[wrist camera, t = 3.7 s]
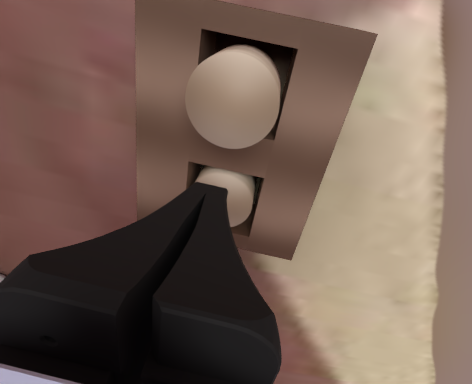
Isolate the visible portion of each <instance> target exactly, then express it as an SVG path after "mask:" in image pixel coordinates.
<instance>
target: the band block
mask: <svg viewBox="0 0 472 384" xmlns="http://www.w3.org/2000/svg"><path fill="white" fill-rule="evenodd" d="M217 32H220V33H225V34H230V35H234V36H239V37H244V38H249V39H254V40H258V41H263V42H268V43H273V44H277V45H282V46H287V47H292V48H294V50H293V54H292V58H291V62H290V66H289V70H288V74H287V78H286V82H285V86H284V90H283V94H282V97H281V101H280V106H279V113H278V117H277V120H276V122H275V124H274V126H273V128H272V129H271V131H270V132H269V133H268V134H267V136H265V137H264V138H263V139H262V140H261V141H259V142H258V143H256V144H254V145H252V146H249V147H246V148H241V149H228V148H223V147H220V146H217V145H215V144H213V143H211V142H209V141H208V140H206V139H205V138H203V137H202V136H201V135H200V134H199V133H198V131H197V130H196V129H195V128H194V126H193V125H192V123H191V121H190V119H189V116H188V114H187V110H186V104H185V93H186V87H187V84H188V81H189V78H190V76H191V75H192V73H193V71H194V70H195V69H196V68H197V66H198V65H199V64H200V63H202V62H203V61H204V60H206V59H207V58H209V57H210V56H212V55H214V54H215V45H216V37H217ZM377 35H378V34H375V33H371V32H367V31H362V30H358V29H353V28H348V27H343V26H338V25H333V24H329V23H324V22H319V21H314V20H309V19H304V18H299V17H295V16H290V15H285V14H280V13H275V12H270V11H266V10H261V9H256V8H251V7H246V6H241V5H236V4H232V3H227V2H222V1H217V0H135V48H136V162H137V221H139V220H140V219H142V218H144V217H146V216H148V215H149V214H151V213H153V212H154V211H156V210H158V209H159V208H161V207H162V206H164V205H165V204H167V203H168V202H170V201H171V200H173V199H174V198H175V197H177V196H178V195H179V194H181V193H182V192H183V191H185V190H186V189H187V188H188V187H190V186H191V185H192V184H194V183H195V181H196V179H197V177H198V175H199V174H200V168H201V164H203V165H207V166H212V167H216V168H220V169H225V170H229V171H234V172H238V173H243V174H247V175H252V176H256V177H261V181H260V184H259V188H258V192H257V196H256V200H255V204H252V210H251V213H250V214H249V216H248V218H247V219H246V220H245V221H244V222H242V223H241V224H239V225H237V226H234V227H231V231H232V235H233V238H234V241H235V244H236V247H237V248H240V249H244V250H248V251H253V252H257V253H261V254H266V255H270V256H274V257H279V258H283V259H287V260H292V257H293V254H294V252H295V249H296V247H297V244H298V241H299V239H300V236H301V233H302V231H303V228H304V226H305V223H306V220H307V218H308V215H309V213H310V210H311V207H312V205H313V202H314V199H315V197H316V194H317V192H318V189H319V186H320V184H321V181H322V179H323V176H324V173H325V171H326V168H327V165H328V163H329V160H330V158H331V155H332V152H333V150H334V147H335V145H336V142H337V139H338V137H339V134H340V132H341V129H342V126H343V124H344V121H345V118H346V116H347V113H348V111H349V108H350V105H351V103H352V100H353V98H354V95H355V92H356V90H357V87H358V84H359V82H360V79H361V77H362V74H363V71H364V69H365V66H366V64H367V61H368V58H369V56H370V53H371V50H372V48H373V45H374V43H375V40H376V37H377Z"/></svg>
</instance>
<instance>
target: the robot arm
mask: <svg viewBox="0 0 472 384" xmlns="http://www.w3.org/2000/svg"><path fill="white" fill-rule="evenodd" d="M227 196H228V190H227V189H226V188H223V187H218V186H214V185H209V184H205V183H200V182H195V183H194V184H192V185H191V186H190V187H188V188H187V189H186V190H185V191H183V192H182V193H181V194H179V195H178V196H177V197H175V198H174V199H173V200H171V201H170V202H168V203H167V204H165V205H164V206H162V207H161V208H159V209H158V210H156V211H154V212H153V213H151V214H149V215H148V216H146V217H144V218H142V219H140V220H139V221H137V222H134V223H132V224H130V225H128V226H126V227H124V228H121V229H118V230H116V231H113V232H111V233H108V234H106V235H103V236H100V237H98V238H94V239H91V240H88V241H85V242H82V243H78V244H75V245H71V246H67V247H63V248H59V249H55V250H50V251H46V252H41V253H37V254H32V255H29V256H28V257H27V258H26V259H25V260H24V261H22V262H21V263H20V264H19V265H18V266H17V267H16V268H15V269H14V270H13V271H12V272H11V273H10V274H9V275H8V276H7V277H5V278H4V279H3V280H2V281H1V282H0V384H273V382H274V380H275V378H276V376H277V374H278V372H279V370H280V366H281V346H280V338H279V333H278V327H277V323H276V319H275V315H274V313H273V312H272V310H271V309H270V308H269V306H268V305H267V303H266V302H265V301H264V299H263V298H262V296H261V295H260V293H259V291H258V290H257V288H256V287H255V285H254V283H253V282H252V280H251V278H250V276H249V274H248V272H247V270H246V268H245V266H244V264H243V262H242V260H241V257H240V255H239V253H238V250H237V247H236V244H235V241H234V238H233V235H232V231H231V227H230V223H229V217H228V210H227Z"/></svg>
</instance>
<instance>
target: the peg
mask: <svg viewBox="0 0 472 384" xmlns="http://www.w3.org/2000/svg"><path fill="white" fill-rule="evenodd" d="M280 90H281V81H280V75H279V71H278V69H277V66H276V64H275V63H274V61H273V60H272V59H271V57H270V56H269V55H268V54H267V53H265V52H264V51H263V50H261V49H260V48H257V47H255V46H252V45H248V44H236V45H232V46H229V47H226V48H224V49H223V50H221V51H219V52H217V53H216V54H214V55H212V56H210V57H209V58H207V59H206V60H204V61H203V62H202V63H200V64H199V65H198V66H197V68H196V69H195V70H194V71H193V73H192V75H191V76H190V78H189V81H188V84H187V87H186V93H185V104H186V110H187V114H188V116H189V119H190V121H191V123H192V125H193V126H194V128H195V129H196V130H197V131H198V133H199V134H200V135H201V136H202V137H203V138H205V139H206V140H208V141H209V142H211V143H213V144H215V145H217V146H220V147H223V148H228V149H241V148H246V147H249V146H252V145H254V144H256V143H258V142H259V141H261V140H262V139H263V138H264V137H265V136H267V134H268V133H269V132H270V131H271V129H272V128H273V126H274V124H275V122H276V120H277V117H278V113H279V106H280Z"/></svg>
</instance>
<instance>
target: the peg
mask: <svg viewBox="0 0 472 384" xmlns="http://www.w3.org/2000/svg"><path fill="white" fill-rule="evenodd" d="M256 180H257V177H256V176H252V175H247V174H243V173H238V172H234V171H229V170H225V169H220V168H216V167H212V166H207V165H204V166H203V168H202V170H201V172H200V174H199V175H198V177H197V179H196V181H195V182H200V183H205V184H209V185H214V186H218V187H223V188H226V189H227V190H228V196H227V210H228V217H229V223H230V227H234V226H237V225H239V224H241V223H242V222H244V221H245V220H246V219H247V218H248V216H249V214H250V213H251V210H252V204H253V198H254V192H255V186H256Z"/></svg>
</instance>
